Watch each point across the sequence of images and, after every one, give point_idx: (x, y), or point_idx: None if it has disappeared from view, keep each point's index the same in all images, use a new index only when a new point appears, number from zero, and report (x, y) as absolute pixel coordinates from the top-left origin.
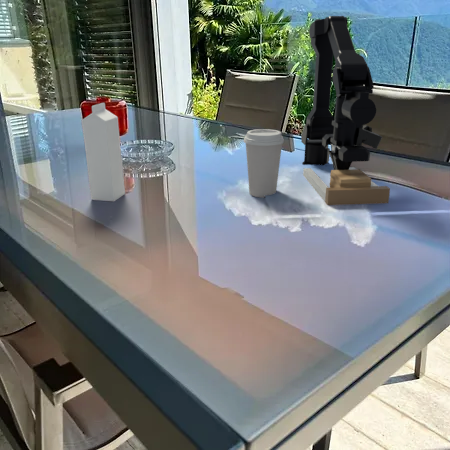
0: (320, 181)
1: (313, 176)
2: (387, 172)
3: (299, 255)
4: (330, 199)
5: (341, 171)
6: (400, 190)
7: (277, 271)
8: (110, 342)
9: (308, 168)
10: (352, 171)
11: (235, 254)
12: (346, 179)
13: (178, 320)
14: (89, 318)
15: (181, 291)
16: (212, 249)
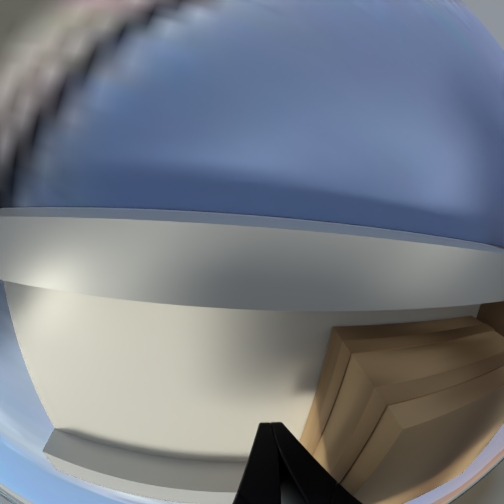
0: None
1: (183, 497)
2: (20, 9)
3: (498, 436)
4: None
5: (374, 501)
6: (357, 34)
7: (499, 444)
8: (477, 482)
9: (48, 458)
10: (415, 462)
11: (455, 482)
12: (475, 458)
13: (487, 469)
14: (455, 499)
15: (468, 483)
16: (433, 499)
